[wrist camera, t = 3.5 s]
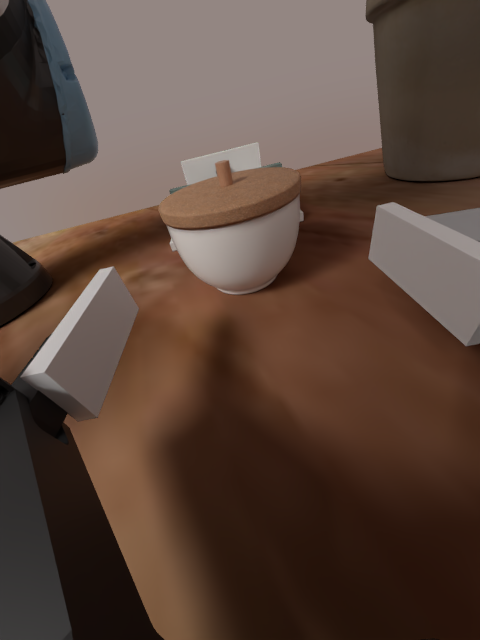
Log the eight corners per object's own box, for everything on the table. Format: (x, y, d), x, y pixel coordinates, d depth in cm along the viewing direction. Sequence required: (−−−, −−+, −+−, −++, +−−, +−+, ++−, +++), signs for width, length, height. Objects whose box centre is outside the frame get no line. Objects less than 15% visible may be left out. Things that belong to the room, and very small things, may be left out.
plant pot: (455, 140, 45) (519, -69, 31) (653, 153, 26) (1058, -380, 12) (323, 175, 44) (328, -19, 31) (424, 213, 26) (557, -251, 12)
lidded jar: (199, 258, 28) (168, 164, 22) (294, 242, 26) (288, 136, 20) (180, 320, 20) (123, 198, 14) (314, 301, 18) (316, 155, 12)
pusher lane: (303, 220, 30) (302, 154, 26) (172, 251, 31) (148, 192, 27) (270, 184, 47) (266, 140, 43) (186, 204, 48) (172, 163, 44)
